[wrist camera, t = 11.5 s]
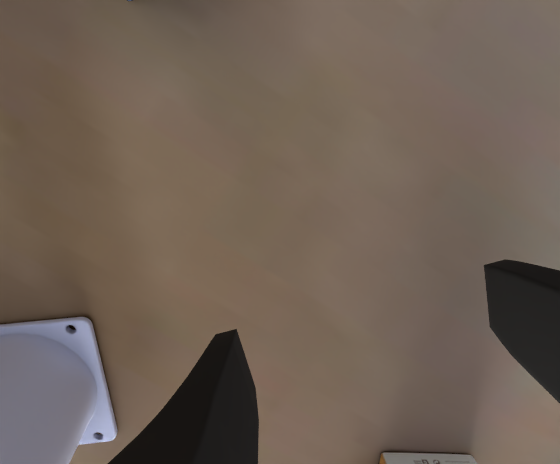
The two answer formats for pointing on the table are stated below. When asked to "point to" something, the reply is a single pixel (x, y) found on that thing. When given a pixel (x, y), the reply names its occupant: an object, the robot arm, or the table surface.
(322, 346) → the table surface
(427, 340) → the table surface
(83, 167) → the table surface
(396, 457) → the small box
